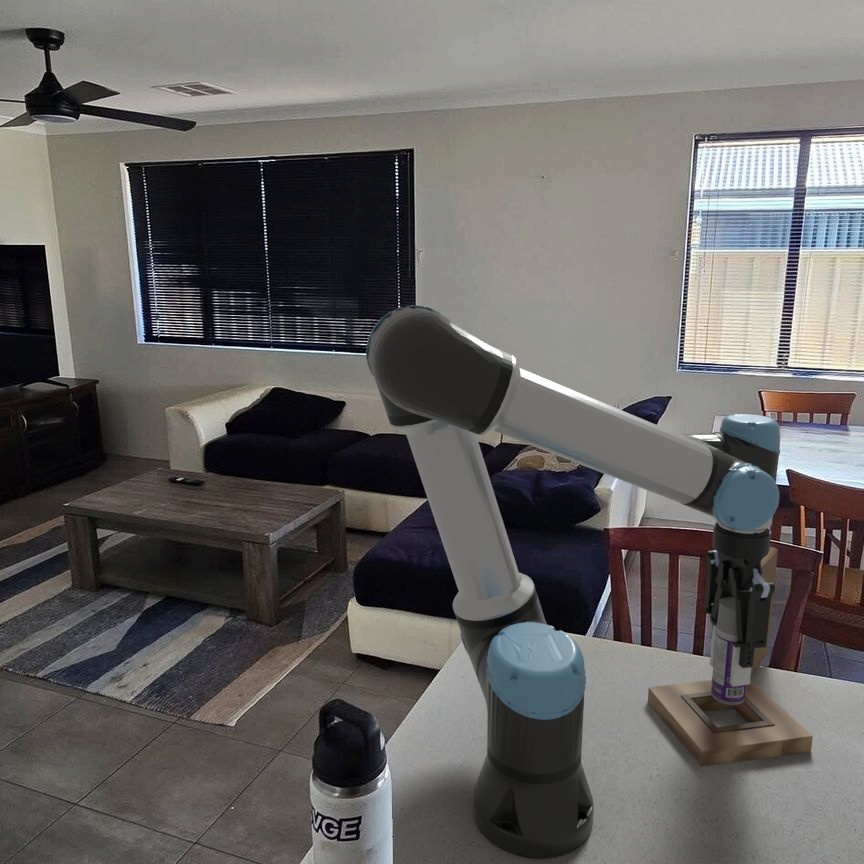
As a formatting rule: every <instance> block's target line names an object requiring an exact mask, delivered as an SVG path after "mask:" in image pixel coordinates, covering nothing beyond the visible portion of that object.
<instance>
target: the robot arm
mask: <svg viewBox="0 0 864 864" xmlns="http://www.w3.org/2000/svg"><path fill="white" fill-rule="evenodd" d="M365 359H366V362H367V366H368V368H369V371H370V373H371V375H372V376H373V378H374V381H375V384H376V386H377V389H378V392H379V395H380V398H381V401H382V404H383V406H384V407H383V408H384V409H385V413H386V416H387V419H388V421H389V424H390V427H392V428H394V429H396V430H398V431H400V432H402V433H403V434H405V435H406V438H407V440H408V444H409V447H410V449H411V453H412V455H413V460H414V462H415V464H416V465H415V466H416V468H417V470H418V474H419V476H420V480H421V483H422V485H423V488H424V492H425V494H426V498H427V500H428V503H429V506H430V509H431V512H432V516H433V518H434V521H435V525H436V527H437V530H438V532H439V537H440V538H441V542H442V545H443V548H444V551H445V553H446V557H447V560H448V563H449V567H450V568H451V572H452V575H453V579H454V580H455V585H456V587H457V589H458V592H457V594H456V595H455V597H454V599H453V602H452V609H453V612H454V616H455V618H456V621H457V623H458V628H459V630H460V637H461V641H462V645H463V647H464V649H465V651H466V653H467V655H468V657H469V660H470V663H471V665H472V667H473V671H474V673H475V676H476V677H477V681H478V683H479V686H480V689H481V692H482V694H483V697H484V699H485V700H484V701H485V703H486V712H487V714H486V715H487V718H486V723H487V725H486V732H487V733H486V742H487V743H486V745H487V746H486V747H487V748H486V756H485V759H484V762H483V763H482V766H481V768H480V771H479V774H478V777H477V779H476V782H475V785H474V787H473V793H472V815H473V818H474V822H475V824H476V827H477V828H478V830H479V831H480V833H482V834H483V836H484V837H485V838H486V839H487V840H488V841H490V842H491V843H492V844H493V845H495V846H497V847H499V848H500V849H502V850H505V851H506V852H508V853H512V854H514V855H517V856H523V857H529V858H536V859H537V858H538V859H539V858H540V859H542V858H552V857H556V856H561V855H565V854H568V853H570V852H572V851H574V850H576V849H577V848H578V847H579V846H581V845H582V844H584V842H585V841H586V840H587V838H589V836H590V835H591V834H590V833H591V832H592V829H593V827H594V826H593V825H594V810H595V809H594V808H595V806H594V804H595V803H594V798H593V795H592V791H591V788H590V786H589V783H588V779H587V776H586V773H585V770H584V767H583V763H582V750H583V730H584V727H583V725H584V711H585V707H584V706H585V690H586V684H587V675H586V669H585V658H584V655H583V652H582V649H581V648H580V646H579V644H578V643H577V642H576V641H575V640H574V639H573V638H572V636H570V635H569V634H568V633H566V632H565V631H563V630H561V629H559V630H556V628H555V627H554V626H552V625H550V624H548V623H547V621H546V619H545V615H544V613H543V609H542V606H541V603H540V600H539V595H538V593H537V590H536V587H535V584H534V582H533V580H532V578H531V577H529V576H528V575H526V574H523V573H521V572H519V569H518V566H517V562H516V560H515V557H514V553H513V550H512V547H511V543H510V540H509V536H508V534H507V530H506V528H505V524H504V523H505V522H504V520H503V517H502V514H501V511H500V508H499V505H498V501H497V499H496V495H495V492H494V488H493V485H492V482H491V479H490V475H489V472H488V469H487V465H486V462H485V459H484V457H483V453H482V450H481V446H480V444H479V443H480V442H479V440H478V437H477V435H479V436H483V435H485V434H488V433H491V432H492V431H493V432H495V433H498V434H501V435H504V436H507V437H508V438H512V439H514V440H517V441H520V442H521V443H524V444H527V445H529V446H532V447H535V448H537V449H538V450H539V449H540V450H543V451H544V452H548V453H550V454H553V455H555V456H558V457H560V458H563V459H565V460H568V461H571V462H574V463H576V464H578V465H580V466H583V467H586V468H589V469H592V470H593V471H596V472H599V473H602V474H604V475H607V476H609V477H612V478H615V479H618V480H619V481H622V482H625V483H627V484H630V485H632V486H635V487H638V488H641V489H643V490H645V491H649V492H651V493H653V494H657V495H659V496H661V497H664V498H665V499H669V500H671V501H674V502H676V503H679V504H681V505H683V506H685V507H688V508H690V509H693V510H695V511H698V512H701V513H703V514H706V515H708V516H710V517H712V518H713V519H714V521H715V523H714V524H713V530H712V531H713V533H712V543H711V544H712V548H713V550H707V551H705V557H706V576H705V578H706V579H705V588H704V589H705V592H704V601H703V610H704V613H705V614H707V615H709V620H710V623H712V624H711V635H710V636H711V644H710V656H709V659H710V660H709V665H710V666H711V667H712V668H713V662H714V650H715V637H716V627H717V618H718V609H719V601H720V599H721V598H726V597H734V598H735V604H736V622H737V640H738V642H733V653H732V664H731V675H730V684H731V685H732V686H741V685H749V684H750V679H751V677H752V675H751V667H752V666H753V658H754V649H755V648H763V647H766V643H767V633H768V624H769V614H770V604H771V598H772V595H773V596H774V594H773V593H774V592H775V590H776V586H775V584H773V583H766V582H765V580H764V579H763V578H762V569H761V560H762V559H763V558H764V557H765V556H767V555H768V553H769V549H770V547H771V538H772V531H771V529H770V527H771V526H772V525H773V524H772V523H773V516H774V514H775V513H776V511H777V509H778V507H779V504H780V503H779V502H780V490H779V487H778V484H777V478H778V477H777V475H778V467H779V466H778V465H779V459H780V458H779V456H780V454H781V450H780V447H781V445H780V444H781V428H780V425H779V423H778V422H777V421H776V420H775V419H773V418H771V417H768V416H764V415H759V414H749V413H748V414H747V413H735V414H732V415H727V416H725V417H723V418H722V420H721V425H720V428H719V431H714V432H705V433H677V432H675V431H671V430H670V429H667V428H664V427H663V426H660V425H659V424H655V423H653V422H650V421H648V420H646V419H644V418H641V417H638V416H636V415H634V414H631V413H629V412H626V411H624V410H622V409H620V408H617V407H614V406H612V405H610V404H608V403H605V402H602V401H600V400H598V399H596V398H592V397H591V396H588V395H586V394H583V393H581V392H578V391H576V390H574V389H571V388H569V387H567V386H564V385H562V384H559V383H557V382H554V381H552V380H550V379H547V378H544V377H543V376H540V375H538V374H535V373H534V372H531V371H528V370H526V369H524V368H521V367H519V365H518V362H517V360H516V357H515V356H514V355H513V354H511V353H509V352H507V351H504V350H502V349H500V348H497V347H495V346H493V345H491V344H489V343H487V342H486V341H483V340H482V339H480V338H479V337H477V336H475V335H474V334H472V333H471V332H469V331H468V330H466V329H465V328H464V327H463V326H461V325H460V324H458V323H456V321H454V320H453V319H451V318H449V317H447V316H445V315H443V314H441V313H440V312H439V311H437V310H435V309H433V308H431V307H428V306H424V305H413V304H412V305H409V306H408V305H407V306H405V307H398V308H396V309H394V310H392V311H390V312H388V313H387V314H385V315H384V316H382V317H381V318H380V319H379V320H378V321H377V322H376V324H374V326H373V328H372V330H371V332H369V336H368V339H367V342H366V351H365ZM745 590H749V591H745ZM740 591H741V592H740Z"/></svg>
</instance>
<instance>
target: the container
mask: <svg viewBox="0 0 864 864" xmlns="http://www.w3.org/2000/svg"><path fill="white" fill-rule="evenodd" d="M733 642H738V640H737V622H736V604H735V598H734V597H726V598H721V599H720V601H719V609H718V618H717V627H716V637H715V650H714V662H713V667H712V675H711V676H712V677H711V678H712V679H711V680H712V687H711V695H712V697H713V698H714V699H715V700H717V701H719V702H721V703H723V704H727V705H739V704H741V703H743V702H744V700H745V690H746V685H741V686H732V685H731V684H730V675H731V664H732V653H733Z"/></svg>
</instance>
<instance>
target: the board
mask: <svg viewBox="0 0 864 864" xmlns="http://www.w3.org/2000/svg"><path fill="white" fill-rule="evenodd" d="M711 687H712V679H709V680H702V681H700V680H699V681H692V682H691V681H690V682H682V683H676V684H675V683H674V684H668V685H667V684H666V685H656V686H649V687H648V691H647V692H648V693H647V703H649V705H650V706H651V707H652V709H654V712H656V714H657V715H658V716H659V718H660V719H661V720H662V722H664V723H665V725H666V726H667V728H669V730H670V731H671V733H672V734H674V736H675V737H676V739H678V740H679V742H680V743H681V744H682V746H683V747H684V749H686V750H687V752H688V753H689V755H690V756H691V757H692V758H693V759H694V760H695V763H697V764H698V766H700V767H703V768H704V767H708V766H709V767H710V766H716V765H724V764H730V763H731V764H733V763H737V762H746V761H752V760H759V759H767V758H774V757H781V756H787V755H788V756H789V755H796V754H801V753H809V752H812V745H813V736H814V735H812V734H811V733H810V732H809V731H808V730H807V729H806V728H805V727H803V726H802V725H801V724H800V723H799V722H798V721H797V720H796V719H795V718H794V717H792V715H790V714H789V713H788V712H787V711H786V710H785V709H784V708H783V707H781V706H780V705H779V704H778V703H777V702H776V701H775V700H774V699H773V698H772V697H771V696H770V695H768V694H767V692H765V691H764V690H763V689H762V688H761V687H759V686H758V685H757V684H756V683H755V682H754V681H753V680H752V679H751V678H750V684H749V685H746V690H745V700H744V702H743V703H741V704H739V705H727V704H723V703H721V702H719V701H717V700H715V699H714V698H713V697H712V695H711ZM727 709H728V710H730V709H734V710H735V711H736V712H737V713H738V714H739V715H740V716H741V717H742V718H743V719H744V720H745V722H746V723H739V724H731V725H730V724H729V725H723V726H717V725H716V724H715V723H714V722H713V721H712V720H711V718H709V717H708V716H707V715H706V714H705V712H712V711H714V712H715V711H721V710H727Z"/></svg>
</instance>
